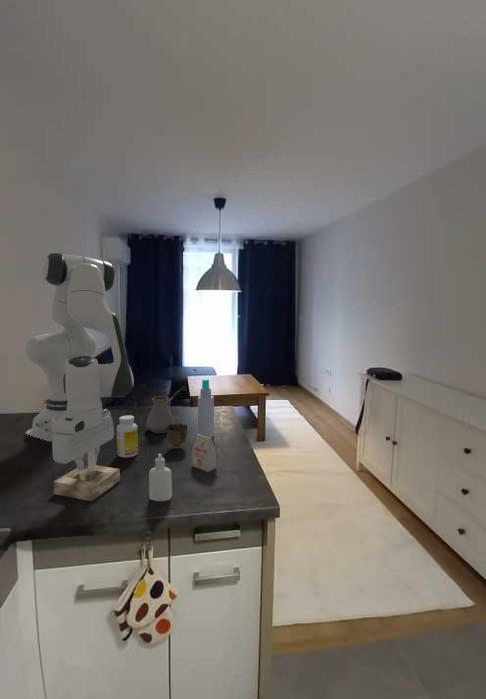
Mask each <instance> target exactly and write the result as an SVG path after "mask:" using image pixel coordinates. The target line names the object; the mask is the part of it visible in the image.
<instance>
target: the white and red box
mask: <svg viewBox="0 0 486 699" xmlns="http://www.w3.org/2000/svg"><path fill="white" fill-rule="evenodd" d="M216 450H217V449H216V446H215V444H214V442H213V437H212V438H208V437H205V436H202V435H198V433H195V434H194V439H193V443H192V446H191V467H192V468H195V469H198V470H200V471H203V472H207V473H209V472H211V471H213V470H215V469H217V458H216V455H217V451H216Z"/></svg>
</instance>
